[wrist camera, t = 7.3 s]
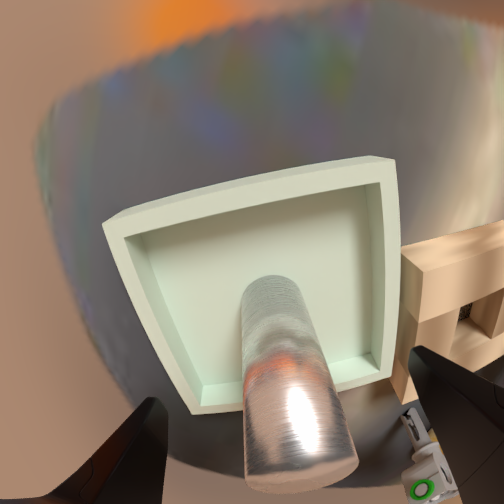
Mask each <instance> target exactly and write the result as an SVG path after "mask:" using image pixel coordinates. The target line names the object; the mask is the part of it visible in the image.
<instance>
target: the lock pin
mask: <svg viewBox="0 0 504 504" xmlns="http://www.w3.org/2000/svg"><path fill="white" fill-rule="evenodd" d="M241 320H242V380H243V424H244V460H245V483H246V485H247V486H249V487H250V488H251V489H254V490H257V491H260V492H264V493H272V494H290V493H300V492H306V491H311V490H315V489H319V488H322V487H325V486H328V485H331V484H333V483H335V482H338V481H340V480H342V479H343V478H345V477H347V476H348V475H350V474H351V473H352V472H353V471H354V470H355V469H356V468H357V466H358V464H359V459H358V456H357V453H356V449H355V446H354V443H353V440H352V437H351V434H350V431H349V427H348V424H347V421H346V418H345V415H344V412H343V409H342V406H341V403H340V400H339V397H338V394H337V391H336V388H335V385H334V382H333V379H332V377H331V374H330V371H329V368H328V365H327V362H326V359H325V356H324V354H323V351H322V348H321V345H320V342H319V340H318V337H317V334H316V331H315V328H314V326H313V323H312V320H311V317H310V315H309V312H308V309H307V307H306V304H305V301H304V298H303V296H302V293H301V291H300V289H299V287H298V286H297V284H296V283H295V282H294V281H292V280H291V279H289V278H287V277H284V276H280V275H268V276H264V277H261V278H258V279H256V280H255V281H253V282H252V283H251V284H250V285H248V287H247V288H246V289H245V291H244V293H243V295H242V300H241Z"/></svg>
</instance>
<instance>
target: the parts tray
mask: <svg viewBox="0 0 504 504" xmlns="http://www.w3.org/2000/svg"><path fill="white" fill-rule="evenodd" d="M102 226H103V229H104V232H105V235H106V238H107V241H108V243H109V246H110V249H111V252H112V254H113V257H114V260H115V262H116V265H117V267H118V270H119V272H120V275H121V277H122V280H123V282H124V285H125V287H126V289H127V292H128V294H129V296H130V299H131V301H132V303H133V305H134V308H135V310H136V312H137V314H138V316H139V318H140V320H141V323H142V325H143V327H144V329H145V331H146V333H147V335H148V337H149V339H150V341H151V343H152V345H153V347H154V349H155V351H156V353H157V355H158V356H159V358H160V360H161V362H162V364H163V366H164V368H165V369H166V371H167V373H168V375H169V377H170V378H171V380H172V382H173V384H174V385H175V387H176V389H177V391H178V392H179V394H180V396H181V397H182V399H183V401H184V402H185V404H186V405H187V407H188V409H189V410H190V412H191V413H192V415H195V414H210V413H221V412H231V411H240V410H243V380H242V320H241V300H242V295H243V293H244V291H245V289H246V288H247V287H248V285H250V284H251V283H252V282H253V281H255V280H256V279H258V278H261V277H264V276H268V275H280V276H284V277H287V278H289V279H291V280H292V281H294V282H295V283H296V284H297V286H298V287H299V289H300V291H301V293H302V296H303V298H304V301H305V304H306V307H307V309H308V312H309V315H310V317H311V320H312V323H313V326H314V328H315V331H316V334H317V337H318V340H319V342H320V345H321V348H322V351H323V354H324V356H325V359H326V362H327V365H328V368H329V371H330V374H331V377H332V379H333V382H334V385H335V388H336V391H337V392H340V391H344V390H348V389H351V388H355V387H358V386H362V385H365V384H368V383H372V382H375V381H378V380H381V379H384V378H387V377H390V376H391V374H392V367H393V360H394V353H395V344H396V335H397V325H398V313H399V297H400V268H401V244H400V214H399V198H398V186H397V176H396V167H395V160H393V159H388V158H382V157H376V156H363V157H356V158H349V159H342V160H335V161H329V162H323V163H317V164H311V165H305V166H300V167H294V168H289V169H284V170H279V171H274V172H269V173H264V174H259V175H254V176H250V177H245V178H240V179H236V180H232V181H227V182H223V183H219V184H215V185H211V186H207V187H203V188H199V189H195V190H191V191H187V192H183V193H179V194H176V195H172V196H168V197H165V198H161V199H158V200H154V201H151V202H147V203H144V204H140V205H137V206H134V207H131V208H127V209H124V210H123V211H121V212H119V213H118V214H116V215H115V216H113V217H112V218H110V219H108V220H107V221H105V222H104V223H102Z"/></svg>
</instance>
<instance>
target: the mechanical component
mask: <svg viewBox="0 0 504 504" xmlns="http://www.w3.org/2000/svg"><path fill="white" fill-rule="evenodd" d="M407 415H409V416H410V417H412V419H413V420H410V419H408V418H406V417H404V416H402V415H401V416H400V417H401V419H402V422H403V424H404V426H405V428H406V431H407V433H408V435H409V437H410V440H411V442H412V444H413V447H414V449H415V453H414V454H413V455H412V460H414V461H415V463H416V464H414V465H413V466H411V467H409V468H408V469H406V470H404V471H402V474H401V478H402V482H403V485H404V488H405V493H406V496H407V499H408V502H409V504H437V503H439V502H441V501H443V500H445V499H449V498H453V497H454V496H457V495H458V494H459V492H458V488H457V486H456V483H455V481H454V478H453V476H452V473H451V471H450V468H449V466H448V463H447V461H446V458H445V456H444V455H443V454H442V452H441V450H440V448H439V442H432V441H431V439H430V437H429V435H428V433H427V431H426V429H425V427H424V425H423V423H422V421H421V419H420V417H419V415H418V413H417V411H416V409H415V408H410V410H409V411H408V413H407ZM414 427H415V428H417V430H418V432H419V437H420V440H419V439H418V436H417V434H416V432H415V430H414Z"/></svg>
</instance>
